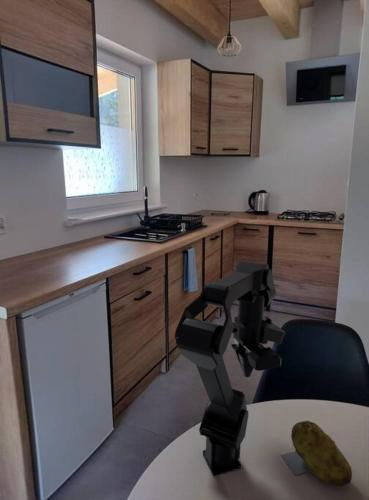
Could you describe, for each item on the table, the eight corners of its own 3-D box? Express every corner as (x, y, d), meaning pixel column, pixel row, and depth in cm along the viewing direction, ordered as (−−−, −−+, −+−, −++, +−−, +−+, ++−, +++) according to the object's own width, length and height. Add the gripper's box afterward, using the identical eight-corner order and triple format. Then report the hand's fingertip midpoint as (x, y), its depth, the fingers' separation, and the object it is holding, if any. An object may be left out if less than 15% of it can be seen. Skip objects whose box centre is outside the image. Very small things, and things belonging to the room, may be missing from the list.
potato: (319, 498, 67) (323, 463, 66) (283, 448, 80) (286, 417, 78) (356, 489, 70) (361, 454, 68) (315, 441, 82) (319, 411, 80)
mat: (295, 475, 73) (295, 474, 73) (280, 455, 78) (280, 454, 78) (339, 462, 76) (339, 461, 76) (322, 444, 81) (322, 443, 81)
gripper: (305, 328, 75) (299, 393, 79) (260, 298, 93) (257, 353, 96) (259, 334, 72) (254, 402, 75) (221, 302, 89) (219, 358, 93)
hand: (246, 376), depth 85 cm, fingers closed
